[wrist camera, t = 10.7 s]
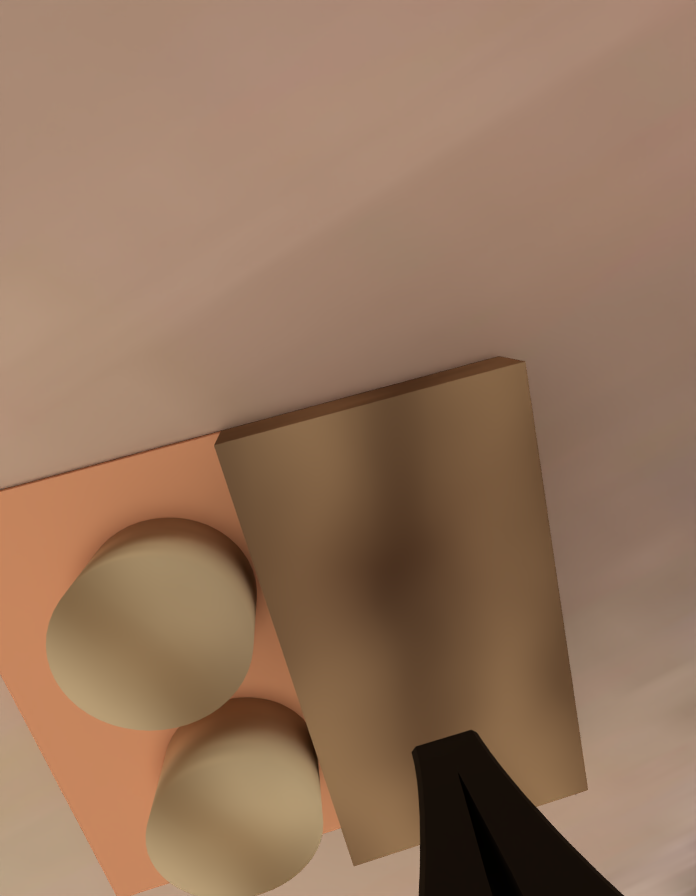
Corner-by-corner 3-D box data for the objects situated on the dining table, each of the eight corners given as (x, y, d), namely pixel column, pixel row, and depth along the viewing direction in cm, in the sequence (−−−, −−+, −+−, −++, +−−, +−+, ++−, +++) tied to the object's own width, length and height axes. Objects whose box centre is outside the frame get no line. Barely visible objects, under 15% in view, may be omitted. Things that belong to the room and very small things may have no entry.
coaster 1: (176, 483, 17) (156, 516, 15) (290, 599, 19) (293, 649, 16) (44, 591, 18) (-1, 645, 15) (168, 696, 19) (149, 762, 17)
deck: (499, 356, 18) (525, 361, 16) (562, 750, 23) (588, 789, 21) (221, 430, 17) (213, 445, 16) (347, 819, 22) (353, 866, 20)
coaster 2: (252, 669, 20) (247, 730, 17) (346, 761, 21) (357, 831, 18) (131, 760, 20) (106, 835, 17) (233, 843, 22) (226, 925, 19)
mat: (220, 431, 17) (219, 433, 17) (347, 819, 22) (348, 825, 22) (-78, 510, 17) (-84, 514, 17) (120, 891, 22) (118, 899, 22)
